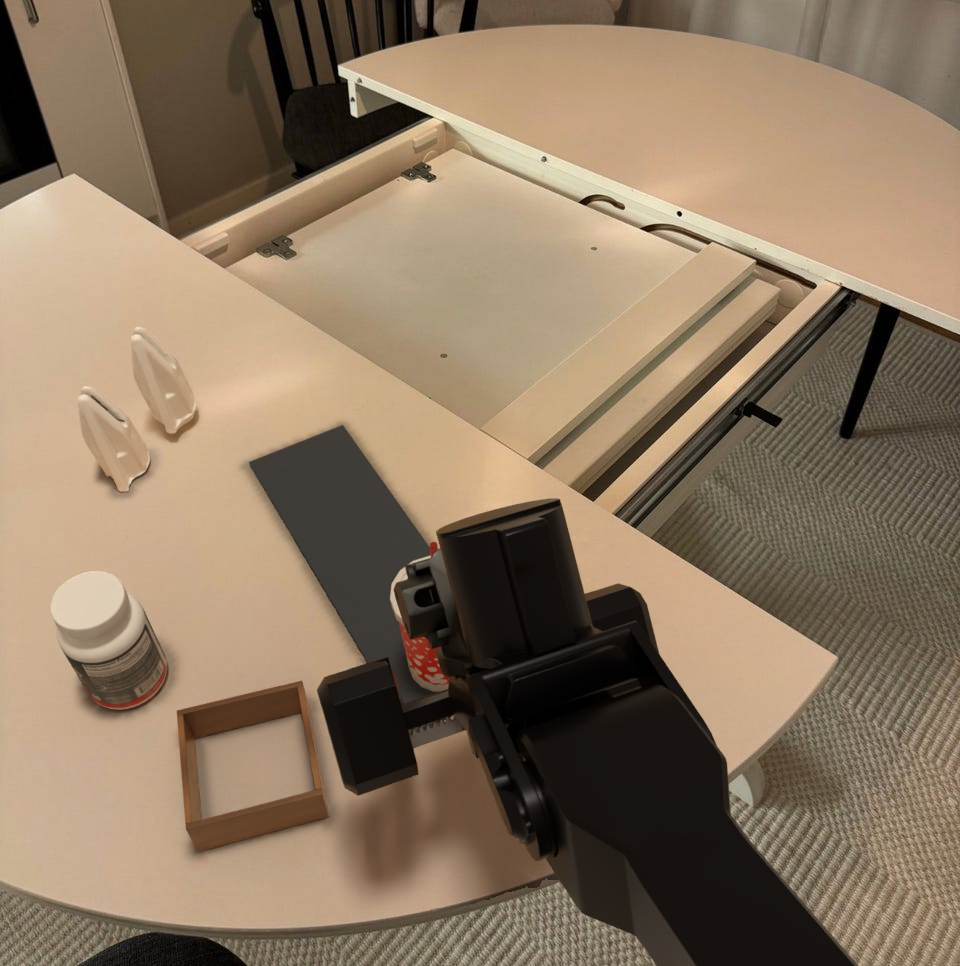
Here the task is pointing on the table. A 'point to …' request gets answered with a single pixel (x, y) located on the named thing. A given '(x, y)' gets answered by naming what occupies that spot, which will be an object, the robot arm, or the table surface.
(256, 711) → the square wooden frame
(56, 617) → the pill bottle
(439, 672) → the beverage cup
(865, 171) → the table surface
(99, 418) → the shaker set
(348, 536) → the mat
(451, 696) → the robot arm
